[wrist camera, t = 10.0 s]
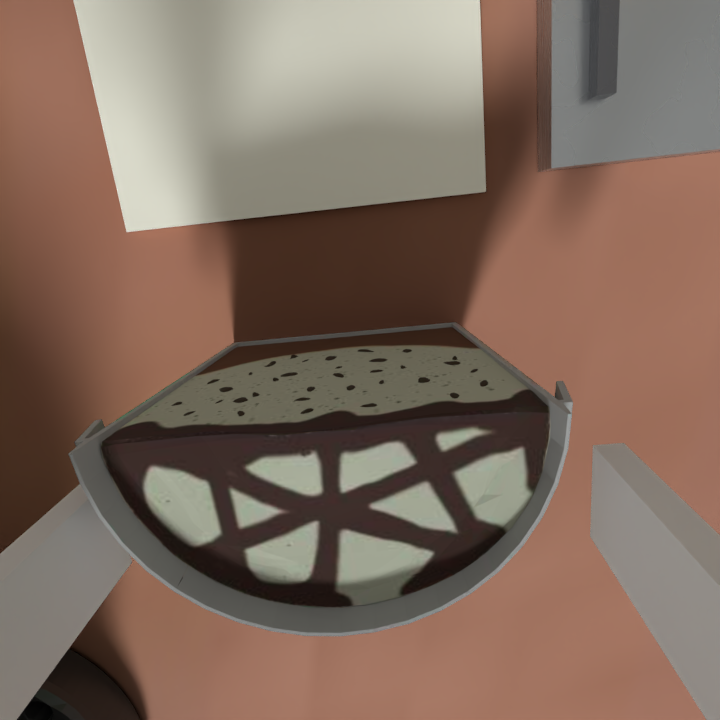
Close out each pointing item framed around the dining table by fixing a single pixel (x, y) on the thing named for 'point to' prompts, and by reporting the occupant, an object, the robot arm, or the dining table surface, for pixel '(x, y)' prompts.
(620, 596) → the dining table surface
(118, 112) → the mat
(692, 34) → the panel
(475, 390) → the food container
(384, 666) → the dining table surface
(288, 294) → the dining table surface
